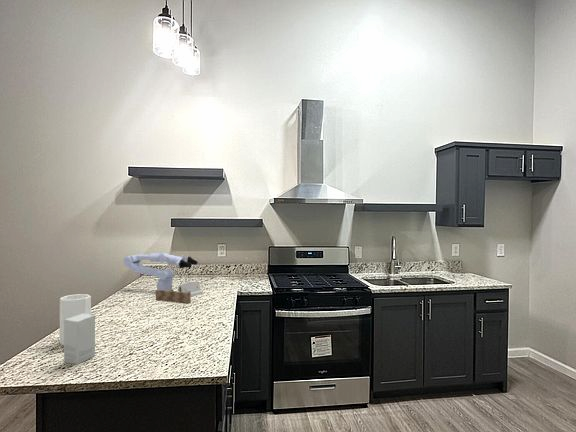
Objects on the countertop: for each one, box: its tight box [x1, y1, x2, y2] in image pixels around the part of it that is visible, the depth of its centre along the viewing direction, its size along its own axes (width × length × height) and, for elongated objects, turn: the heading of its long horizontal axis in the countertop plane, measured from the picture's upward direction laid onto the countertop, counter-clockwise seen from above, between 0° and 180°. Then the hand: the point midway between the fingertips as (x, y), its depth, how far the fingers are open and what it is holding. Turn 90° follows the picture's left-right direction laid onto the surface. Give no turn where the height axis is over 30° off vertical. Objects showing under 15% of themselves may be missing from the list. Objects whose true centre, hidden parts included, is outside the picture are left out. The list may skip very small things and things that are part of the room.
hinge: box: [177, 281, 204, 298], centre depth 237 cm, size 17×5×10 cm, turn 148°
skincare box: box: [63, 313, 96, 365], centre depth 131 cm, size 8×7×16 cm
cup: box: [59, 293, 92, 347], centre depth 150 cm, size 11×11×18 cm
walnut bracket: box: [155, 289, 192, 304], centre depth 223 cm, size 24×9×6 cm, turn 70°
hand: (194, 264), depth 237 cm, fingers open, 7 cm apart
